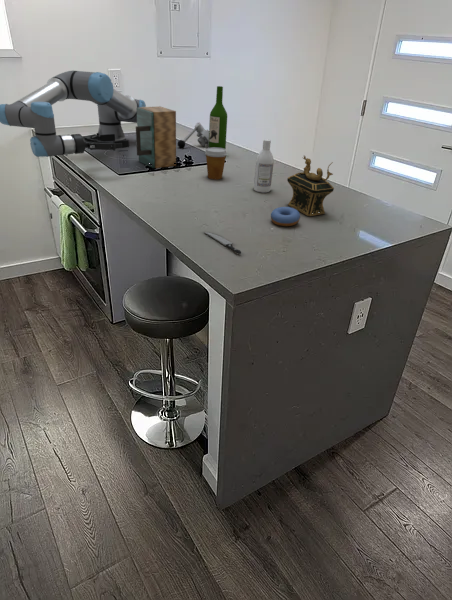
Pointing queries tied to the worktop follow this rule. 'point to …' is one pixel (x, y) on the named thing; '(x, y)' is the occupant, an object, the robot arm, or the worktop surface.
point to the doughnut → (285, 216)
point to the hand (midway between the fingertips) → (121, 140)
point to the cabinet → (164, 136)
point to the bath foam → (264, 168)
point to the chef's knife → (223, 242)
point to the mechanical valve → (200, 133)
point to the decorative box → (309, 190)
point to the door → (145, 137)
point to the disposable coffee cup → (215, 162)
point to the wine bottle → (218, 122)
